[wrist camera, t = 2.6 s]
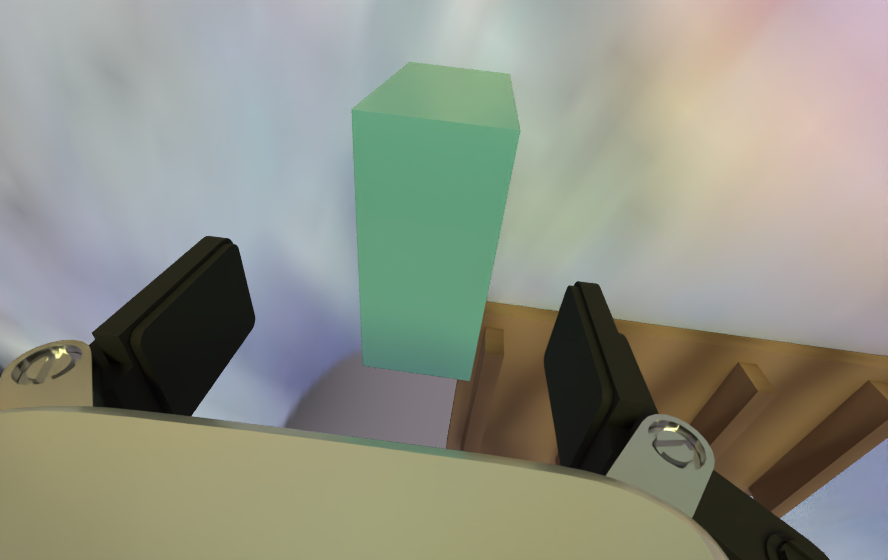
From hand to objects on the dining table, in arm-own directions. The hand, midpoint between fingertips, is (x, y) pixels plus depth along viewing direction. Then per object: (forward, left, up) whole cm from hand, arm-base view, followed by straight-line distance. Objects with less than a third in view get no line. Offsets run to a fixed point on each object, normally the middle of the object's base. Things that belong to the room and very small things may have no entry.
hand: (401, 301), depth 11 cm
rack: (-15, +14, -9) cm, 22 cm away
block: (-1, 0, -9) cm, 9 cm away
